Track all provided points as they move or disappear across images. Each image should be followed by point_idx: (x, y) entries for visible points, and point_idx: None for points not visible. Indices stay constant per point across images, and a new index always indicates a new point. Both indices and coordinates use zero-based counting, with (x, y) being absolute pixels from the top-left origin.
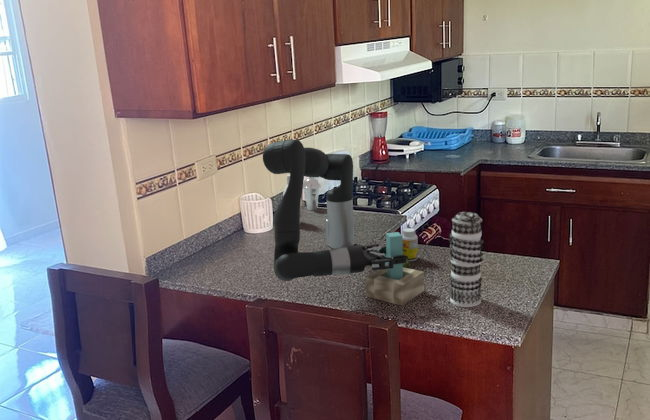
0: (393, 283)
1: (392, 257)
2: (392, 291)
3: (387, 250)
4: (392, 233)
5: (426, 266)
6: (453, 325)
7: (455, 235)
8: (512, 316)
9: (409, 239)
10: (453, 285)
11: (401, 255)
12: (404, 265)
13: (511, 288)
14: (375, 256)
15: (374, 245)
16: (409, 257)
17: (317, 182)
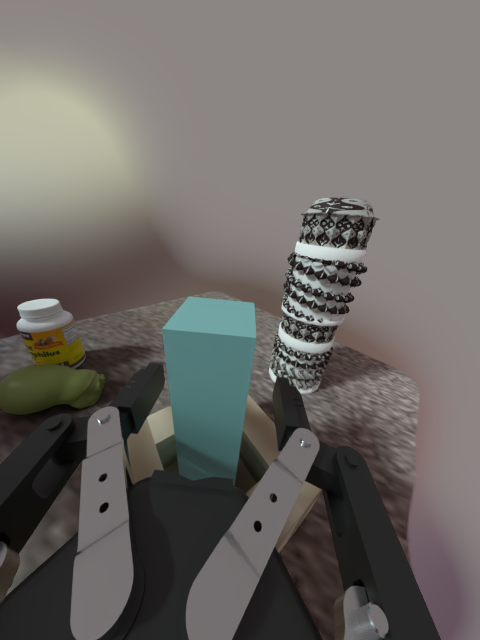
0: (302, 511)
1: (315, 437)
2: (291, 531)
3: (194, 414)
4: (194, 312)
5: (126, 358)
6: (412, 438)
7: (353, 256)
8: (349, 356)
9: (58, 324)
10: (309, 365)
11: (285, 388)
12: (99, 387)
13: (265, 326)
14: (264, 575)
15: (41, 448)
16: (73, 361)
17: None
